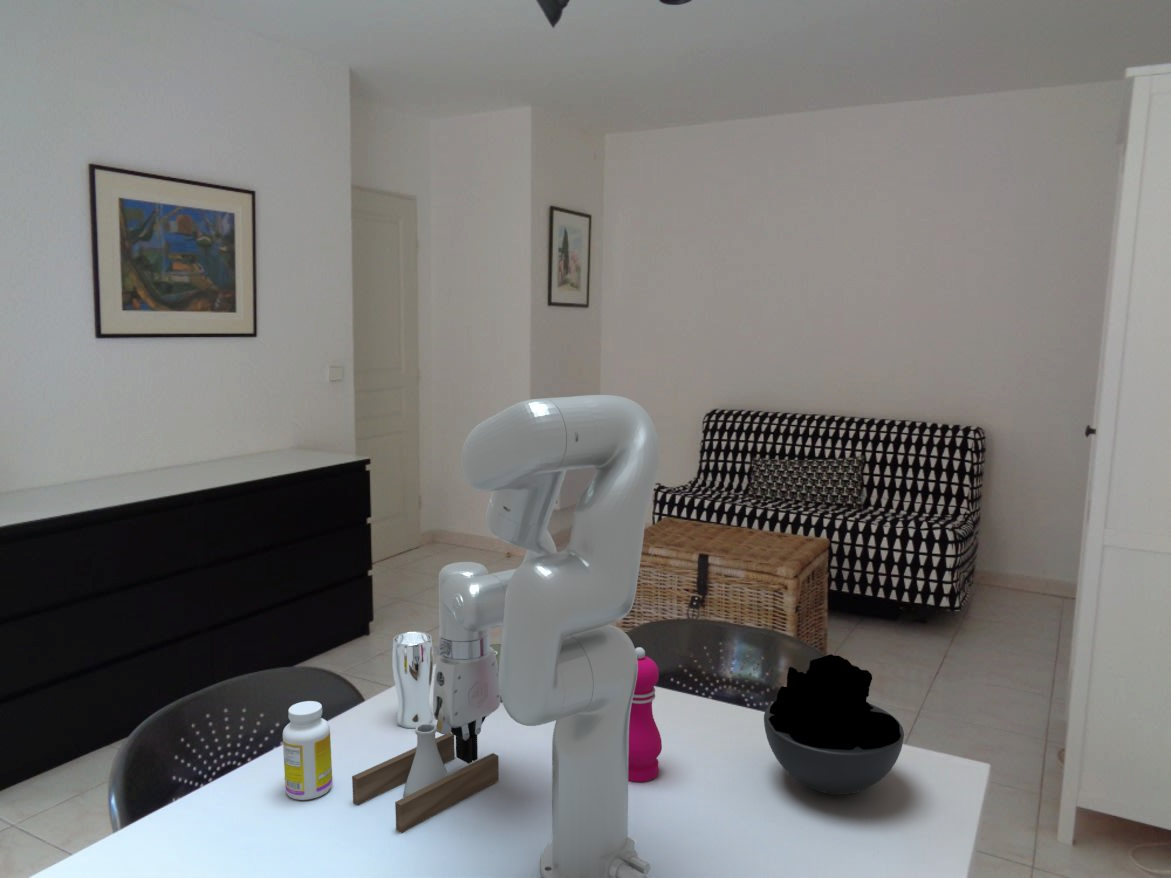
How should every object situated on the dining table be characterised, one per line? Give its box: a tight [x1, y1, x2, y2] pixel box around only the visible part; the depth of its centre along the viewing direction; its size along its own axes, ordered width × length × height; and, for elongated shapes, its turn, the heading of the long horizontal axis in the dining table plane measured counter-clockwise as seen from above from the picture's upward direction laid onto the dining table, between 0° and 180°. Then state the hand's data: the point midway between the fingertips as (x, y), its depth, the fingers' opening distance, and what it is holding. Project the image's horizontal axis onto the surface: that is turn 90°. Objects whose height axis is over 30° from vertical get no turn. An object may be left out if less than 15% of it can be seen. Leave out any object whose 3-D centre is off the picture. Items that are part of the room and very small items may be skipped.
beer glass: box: [391, 631, 434, 729], centre depth 148 cm, size 7×7×15 cm
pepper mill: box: [628, 646, 663, 783], centre depth 130 cm, size 7×7×20 cm
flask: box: [402, 722, 449, 798], centre depth 125 cm, size 7×7×10 cm
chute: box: [351, 733, 500, 833], centre depth 126 cm, size 11×18×4 cm, turn 139°
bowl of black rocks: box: [763, 653, 905, 795], centre depth 127 cm, size 20×20×19 cm
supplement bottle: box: [282, 700, 333, 801], centre depth 126 cm, size 7×7×13 cm
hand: (466, 758), depth 132 cm, fingers closed
